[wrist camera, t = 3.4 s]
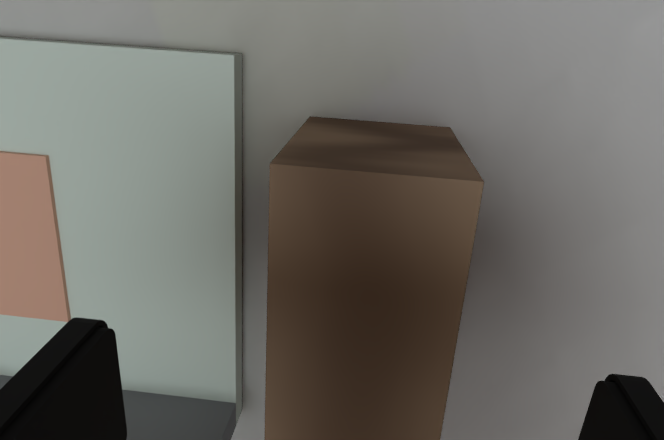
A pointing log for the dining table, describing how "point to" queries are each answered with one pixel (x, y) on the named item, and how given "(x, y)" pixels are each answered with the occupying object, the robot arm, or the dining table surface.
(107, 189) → the tray
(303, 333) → the brown rectangular block
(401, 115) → the dining table surface
